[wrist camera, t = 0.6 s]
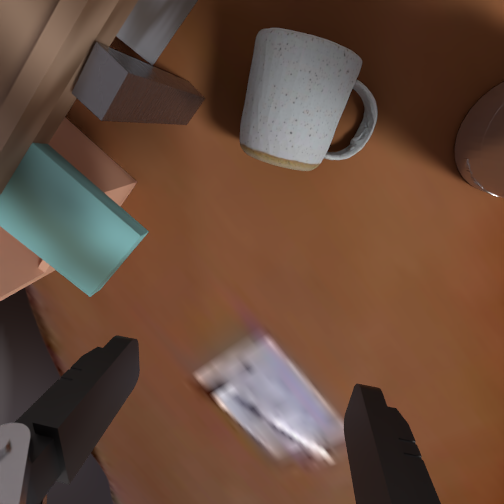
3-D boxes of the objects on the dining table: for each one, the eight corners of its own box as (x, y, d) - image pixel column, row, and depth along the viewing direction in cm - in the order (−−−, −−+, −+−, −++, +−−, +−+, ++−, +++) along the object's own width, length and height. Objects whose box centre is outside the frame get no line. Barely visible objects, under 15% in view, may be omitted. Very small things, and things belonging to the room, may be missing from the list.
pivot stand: (89, -19, 23) (-110, -159, 12) (205, 98, 26) (128, 72, 14) (74, 15, 25) (-120, -82, 13) (186, 124, 27) (101, 120, 15)
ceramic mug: (243, 147, 27) (224, 154, 20) (264, 45, 23) (250, 11, 16) (351, 176, 26) (371, 193, 19) (389, 77, 23) (429, 54, 16)
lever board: (122, -91, 19) (-33, -353, 9) (288, 89, 22) (301, 30, 12) (-7, 138, 24) (-190, 122, 15) (139, 261, 27) (65, 316, 17)
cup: (45, 99, 28) (-229, 67, 14) (137, 181, 30) (-19, 230, 15) (8, 183, 33) (-227, 226, 18) (89, 250, 34) (-65, 337, 20)
